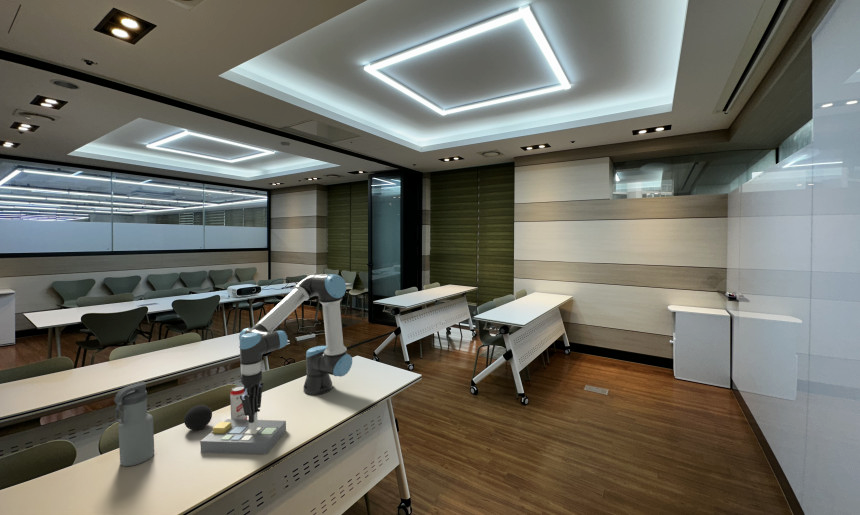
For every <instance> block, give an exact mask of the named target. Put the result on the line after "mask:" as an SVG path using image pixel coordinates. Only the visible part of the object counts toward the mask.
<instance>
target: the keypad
mask: <svg viewBox="0 0 860 515" xmlns="http://www.w3.org/2000/svg"><path fill="white" fill-rule="evenodd" d="M257 420H258V427H262V429H261V430H260V431H259V432H258V433H257V434H256V435H252V434H244V433H245V432H246V431H247V430H248V429H249V419H247V420H241V419H231V418H228V419H225V420H224V421H223V422H231V428H230V429H229V430H228V431H227V432H226V433H225V434H217V433H213V430H212V431H211V432H210V433H208V434H207V435H206V436H205V437H203V438H202V439H201V440H200V441H199V442H200V453H207V454H208V453H210V454H211V453H213V454H236V455H237V454H240V455H243V454H244V455H267V454H268V453H269V452H270V451H271V450H272V448H273V447H275V445H276V444H277V443H278V441H279V440H280V439H281V438H282V436H283V435H284V434H285V433H286V431H287V420H275V419H274V420H270V419H257ZM235 427H247V428H246V429H245V430H244V431H243V432H242V433H241V434H229V432H230V431H231V430H232V429H234V428H235ZM266 427H268V428H277V430H276V431H275V432H274V433H273V434H272V435H260V433H261V432H262V431H263V430H264V429H265V428H266Z"/></svg>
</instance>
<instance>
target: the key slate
mask: <svg viewBox="0 0 860 515" xmlns="http://www.w3.org/2000/svg"><path fill="white" fill-rule="evenodd" d="M246 428H247V427H235V428H234V429H232V430H231V431H230V432H229V434H241V433H242V432H243V431H244V430H245V429H246Z"/></svg>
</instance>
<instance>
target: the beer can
mask: <svg viewBox="0 0 860 515" xmlns="http://www.w3.org/2000/svg"><path fill="white" fill-rule="evenodd" d="M243 394H244V385H237V386H234V387H232V388H231V391H230V393H229V395H230V396H229V397H230V398H229V399H230V419H241V420H248V416H245V414H244V410H243V405H242V401H241V399H240V395H243Z"/></svg>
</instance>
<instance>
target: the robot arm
mask: <svg viewBox="0 0 860 515" xmlns="http://www.w3.org/2000/svg"><path fill="white" fill-rule="evenodd" d="M346 291H347V284H346V280H345V279H344V278H343V277H342V276H341V275H338V274H335V273H334V274H333V273H317V272H316V273H313V274H309V275H307V276H306V277H304V278H303V279H302V280H300V281H299V282H298V283H297V284H296V285H294V286H293V287H292V291H291V292H289V293H288V294H287V295H286V296H285V297H284V298H283V299H282V300H281V301H280V302H278V303H277V304H276V305H275V306H274V307H273V308H272V309H271V310H270V311H269V312H267V314H265V315H264V316H263V317H262V318H261V319H260V320H259V321H258V322H257V323H255V325H253V326H252V327H247V328H243V329H242V330H241V331H240V333H239V335H238V336H239V337H238V340H239V358H240V359H239V360H240V373H241V374H240V383H241V384H242V386H244V394H243V395H240V399H241V401H242V405H243V410H244V414H245V416H247V417H248V420H249V430H256V429H257V428H258V420H259V419H258V413H259V412H260V411H261V409H260V408H261V404H262V395H263V394H262V393H263V387H264V382H261V381H262V380H263V371H262V370H263V367H262V366H263V365H262V364H263V362H262V358H263V357H262V355H263V354H268V353H270V352H273V351H276V350H280V349H282V348H284V347H286V346H287V344H288V341H289V340H288V335H287V333H286V331H284V330H276V328H277V327H278V326H280V324H282V323H283V322H284V320H286V319H287V317H288V316H290V315H291V314H292V313H293V312H294V311H295V310H296V309H297V308H298V307H299V306H300V305H301V304H302V303H303V302H304V301H308V300H309V299H310V298H312V297H314V296H315V297H318V303H320V304H321V305H322V312H323V314H322V316H323V323H324V324H323V325H324V334H325V345H317V346H314V347H311V348H309V349H308V350H306V352H305V353H306V354H305V356H306V357H305V362H306V364H305V368H306V378H305V380H304V384H303V393H304V394H306V395H310V396H318V395H323V394H325V393H328V392H330V391H331V390H332V389H333V382H332V378H331V375H332V376H334V377H339V378H340V377H341V378H342V377H344V376H346V375H347V374H348V373H349V372H350V370H351V368H352V366H353V356H351V355H350V354H349V353H348V349H347V347H346V346H345V345H344V340H343V339H344V338H343V325H342V316H341V314H342V313H341V304H340V303H341V301H342V300H343V296H345V294H346ZM274 330H275V331H274Z"/></svg>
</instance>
